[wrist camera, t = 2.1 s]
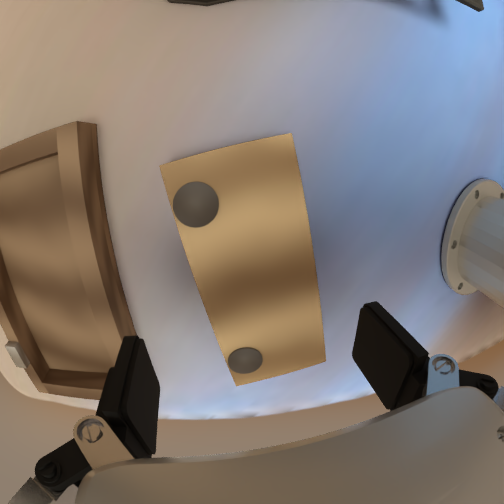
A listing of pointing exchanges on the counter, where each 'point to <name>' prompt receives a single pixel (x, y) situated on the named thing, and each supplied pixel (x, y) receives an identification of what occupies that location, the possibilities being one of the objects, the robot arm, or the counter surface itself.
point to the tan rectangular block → (251, 254)
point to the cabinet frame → (59, 263)
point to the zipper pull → (475, 3)
